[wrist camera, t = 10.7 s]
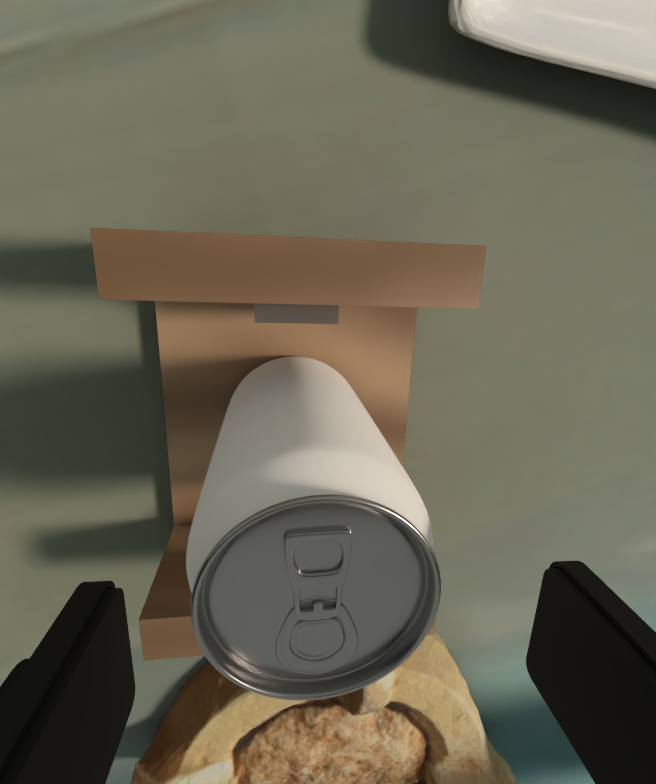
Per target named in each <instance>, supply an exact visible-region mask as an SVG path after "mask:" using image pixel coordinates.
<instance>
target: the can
mask: <svg viewBox="0 0 656 784" xmlns="http://www.w3.org/2000/svg"><path fill="white" fill-rule="evenodd" d="M186 570H187V577H188V582H189V586H190V590H191V593H192V596H191V607H190V610H191V622H192V628H193V632H194V635H195V638H196V640H197V643H198V645H199V647H200V649H201V651H202V652H203V654H204V655H205V657H206V658H207V659H208V661H209V662H210V663H211V664H212V665H213V666H214V668H215V669H216V670H218V671H219V672H220V673H221V674H222V675H223V676H225V677H226V678H227V679H229V680H230V681H232V682H233V683H235V684H237V685H239V686H240V687H242V688H244V689H247V690H249V691H251V692H254V693H257V694H260V695H263V696H267V697H272V698H277V699H284V700H299V701H304V700H319V699H326V698H332V697H336V696H340V695H344V694H348V693H351V692H354V691H356V690H359V689H361V688H364V687H366V686H368V685H370V684H372V683H374V682H376V681H378V680H380V679H381V678H383V677H385V676H386V675H388V674H389V673H391V672H392V671H394V670H395V669H396V668H397V667H399V666H400V665H401V664H402V663H403V662H405V661H406V660H407V659H408V658H409V657H410V656H411V655H412V654H413V652H414V651H415V650H416V649H417V648H418V647H419V645H420V644H421V643H422V641H423V640H424V638H425V637H426V635H427V633H428V632H429V630H430V628H431V626H432V624H433V621H434V619H435V616H436V613H437V610H438V606H439V602H440V594H441V579H440V571H439V567H438V563H437V560H436V557H435V555H434V552H433V536H432V528H431V523H430V519H429V516H428V513H427V511H426V508H425V506H424V503H423V501H422V499H421V497H420V495H419V493H418V492H417V490H416V488H415V486H414V485H413V483H412V481H411V480H410V478H409V476H408V475H407V473H406V472H405V470H404V468H403V467H402V465H401V463H400V462H399V460H398V459H397V457H396V456H395V454H394V452H393V451H392V449H391V448H390V446H389V445H388V443H387V441H386V440H385V438H384V437H383V435H382V434H381V432H380V430H379V429H378V427H377V426H376V424H375V423H374V421H373V420H372V418H371V416H370V415H369V413H368V412H367V410H366V409H365V407H364V406H363V404H362V403H361V401H360V400H359V398H358V396H357V395H356V393H355V392H354V391H353V389H352V388H351V386H350V385H349V383H348V382H347V381H346V380H345V379H344V377H343V376H342V375H340V374H339V373H338V372H337V371H336V370H335V369H333V368H332V367H330V366H328V365H327V364H325V363H323V362H320V361H318V360H314V359H311V358H306V357H284V358H279V359H275V360H272V361H269V362H267V363H264V364H262V365H261V366H259V367H257V368H256V369H254V370H253V371H252V372H250V373H249V374H248V375H247V376H246V377H245V378H244V379H243V380H242V381H241V383H240V384H239V385H238V387H237V388H236V390H235V392H234V394H233V396H232V398H231V400H230V403H229V406H228V409H227V412H226V415H225V418H224V421H223V424H222V427H221V430H220V433H219V436H218V440H217V443H216V446H215V449H214V452H213V455H212V459H211V462H210V465H209V468H208V471H207V475H206V478H205V481H204V484H203V488H202V491H201V494H200V498H199V501H198V504H197V508H196V511H195V514H194V518H193V522H192V526H191V529H190V534H189V538H188V545H187V553H186Z"/></svg>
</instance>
